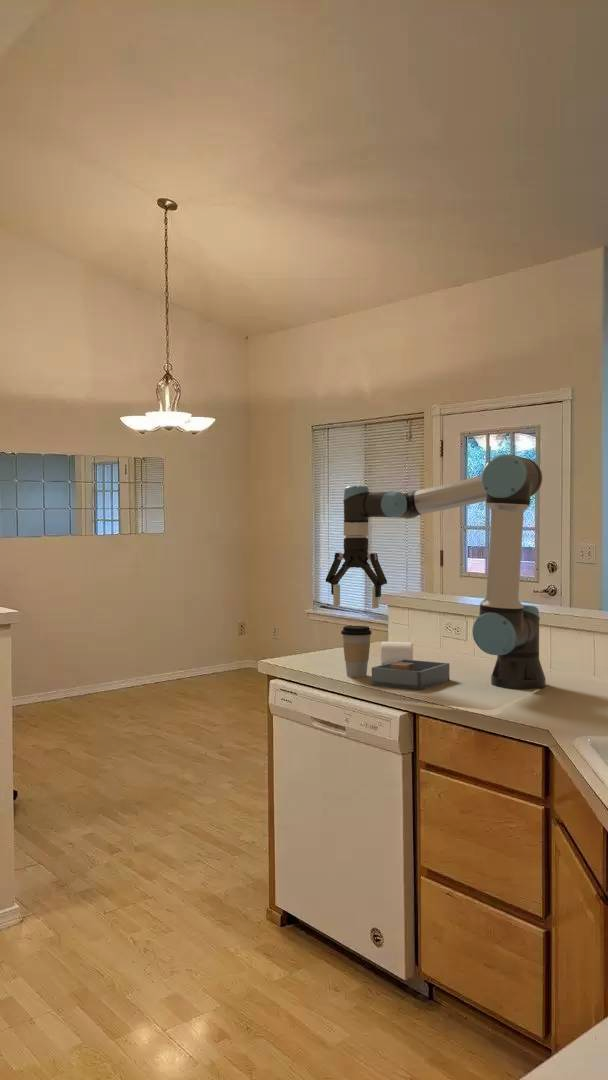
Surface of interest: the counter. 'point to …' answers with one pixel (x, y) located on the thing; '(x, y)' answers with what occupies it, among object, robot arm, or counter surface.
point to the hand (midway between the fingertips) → (355, 607)
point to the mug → (396, 651)
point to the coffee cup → (356, 649)
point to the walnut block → (403, 666)
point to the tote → (411, 675)
